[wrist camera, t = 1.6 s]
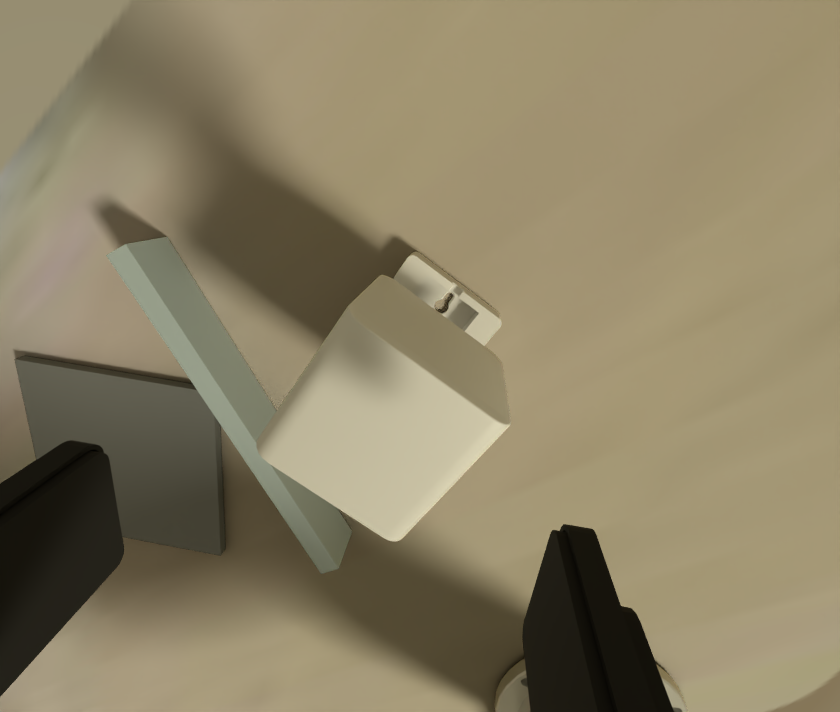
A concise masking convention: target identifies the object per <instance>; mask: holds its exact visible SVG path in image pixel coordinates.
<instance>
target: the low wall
mask: <svg viewBox="0 0 840 712" xmlns="http://www.w3.org/2000/svg"><path fill="white" fill-rule="evenodd" d="M106 256H107V257H108V259H109V260H110V262H111V263H112V265H113V266H114V268H115V269H116V271H117V272H118V274H119V275H120V277H121V278H122V280H123V281H124V283H125V284H126V286H127V287H128V288H129V290H130V291H131V293H132V294H133V296H134V297H135V299H136V300H137V302H138V303H139V305H140V306H141V308H142V309H143V311H144V312H145V314H146V315H147V317H148V318H149V320H150V321H151V323H152V324H153V326H154V327H155V328H156V330H157V331H158V333H159V334H160V336H161V337H162V339H163V340H164V342H165V343H166V345H167V346H168V348H169V349H170V351H171V352H172V354H173V355H174V357H175V358H176V360H177V361H178V363H179V364H180V366H181V367H182V368H183V370H184V371H185V373H186V374H187V376H188V377H189V379H190V380H191V382H192V383H193V385H194V386H195V388H196V389H197V391H198V392H199V394H200V395H201V397H202V398H203V400H204V401H205V403H206V404H207V406H208V407H209V409H210V410H211V411H212V413H213V414H214V416H215V417H216V419H217V420H218V422H219V423H220V425H221V426H222V428H223V429H224V431H225V432H226V434H227V435H228V437H229V438H230V440H231V441H232V443H233V444H234V446H235V447H236V449H237V450H238V451H239V453H240V454H241V456H242V457H243V459H244V460H245V462H246V463H247V465H248V466H249V468H250V469H251V471H252V472H253V474H254V475H255V477H256V478H257V480H258V481H259V483H260V484H261V486H262V487H263V489H264V490H265V492H266V493H267V494H268V496H269V497H270V499H271V500H272V502H273V503H274V505H275V506H276V508H277V509H278V511H279V512H280V514H281V515H282V517H283V518H284V520H285V521H286V523H287V524H288V526H289V527H290V529H291V530H292V532H293V533H294V534H295V536H296V537H297V539H298V540H299V542H300V543H301V545H302V546H303V548H304V549H305V551H306V552H307V554H308V555H309V557H310V558H311V560H312V561H313V563H314V564H315V566H316V567H317V569H318V570H319V572H320V573H321V574H323V573H326V572H330V571H333V570H336V569H339V567H340V564H341V561H342V559H343V556H344V553H345V550H346V547H347V544H348V542H349V539H350V536H351V533H352V530H351V529H350V527H349V526H348V524H347V523H346V521H345V519H344V518H343V516H342V515H341V513H340V511H339V510H338V508H337V507H335V506H333V505H332V504H330V503H329V502H327V501H326V500H324V499H323V498H321V497H320V496H318V495H317V494H315V493H314V492H312V491H310V490H309V489H307V488H306V487H304V486H303V485H301V484H300V483H298V482H297V481H295V480H294V479H292V478H290V477H289V476H287V475H286V474H284V473H283V472H281V471H280V470H278V469H277V468H275V467H274V466H272V465H270V464H269V463H268V462H266V461H265V460H264V459H263V458H262V457H261V456H260V454H259V453H258V450H257V447H256V443H257V440H258V438H259V436H260V435H261V433H262V432H263V430H264V429H265V427H266V426H267V424H268V423H269V421H270V420H271V419H272V417H273V416H274V414H275V413H276V409H275V408H274V406H273V405H272V403H271V401H270V400H269V398H268V397H267V395H266V393H265V392H264V390H263V389H262V387H261V385H260V384H259V382H258V381H257V379H256V377H255V376H254V374H253V373H252V371H251V370H250V368H249V366H248V365H247V363H246V362H245V360H244V358H243V357H242V355H241V354H240V352H239V350H238V349H237V347H236V346H235V344H234V342H233V341H232V339H231V338H230V336H229V334H228V333H227V331H226V330H225V328H224V326H223V325H222V323H221V322H220V320H219V319H218V317H217V315H216V314H215V312H214V311H213V309H212V307H211V306H210V304H209V303H208V301H207V299H206V298H205V296H204V295H203V293H202V291H201V290H200V288H199V287H198V285H197V283H196V282H195V280H194V279H193V277H192V276H191V274H190V272H189V271H188V269H187V268H186V266H185V264H184V263H183V261H182V260H181V258H180V256H179V255H178V253H177V252H176V250H175V248H174V247H173V245H172V244H171V242H170V240H169V239H168V237H163V238H157V239H152V240H146V241H140V242H134V243H128V244H125V245H123V246H121V247H120V248H118V249H116V250H114V251H113V252H111V253H109V254H108V255H106Z"/></svg>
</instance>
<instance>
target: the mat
mask: <svg viewBox="0 0 840 712" xmlns="http://www.w3.org/2000/svg"><path fill="white" fill-rule="evenodd" d="M15 364H16V368H17V373H18V378H19V382H20V387H21V391H22V396H23V400H24V405H25V410H26V414H27V419H28V423H29V428H30V433H31V437H32V442H33V446H34V451H35V456H36V460H37V459H39V458H40V457H42V456H43V455H45V454H46V453H48V452H49V451H51V450H52V449H54V448H55V447H57V446H58V445H60V444H61V443H63V442H65V441H70V440H74V441H79V442H85V443H91V444H96V445H100V446H101V447H102V448H103V451H104V453H105V454H107V455H108V457H109V461H110V467H111V472H112V478H113V484H114V490H115V496H116V502H117V508H118V514H119V520H120V526H121V532H122V537H126V538H131V539H136V540H141V541H146V542H152V543H157V544H162V545H167V546H173V547H178V548H183V549H188V550H194V551H199V552H204V553H209V554H214V555H220V556H221V555H222V553H223V552H224V550H225V526H224V501H223V477H222V453H221V428H220V423H219V422H218V420H217V419H216V417H215V416H214V414H213V413H212V411H211V410H210V409H209V407H208V406H207V404H206V403H205V401H204V400H203V398H202V397H201V395H200V394H199V392H198V391H197V389H196V388H195V386H194V385H193V384H190V383H184V382H178V381H172V380H166V379H160V378H154V377H148V376H142V375H136V374H130V373H124V372H118V371H113V370H107V369H101V368H95V367H89V366H83V365H77V364H71V363H65V362H59V361H53V360H47V359H41V358H35V357H29V356H22V357H19V358H17V359H15Z"/></svg>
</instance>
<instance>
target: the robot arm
mask: <svg viewBox="0 0 840 712" xmlns="http://www.w3.org/2000/svg"><path fill="white" fill-rule="evenodd" d="M123 554H124V544H123V538H122V532H121V526H120V520H119V514H118V508H117V502H116V496H115V490H114V484H113V478H112V472H111V467H110V461H109V457H108V455H107V454H105V453H104V451H103V448H102V447H101V446H100V445H96V444H91V443H85V442H79V441H74V440H70V441H65V442H63V443H61V444H60V445H58V446H57V447H55V448H54V449H52V450H51V451H49V452H48V453H46V454H45V455H43V456H42V457H40V458H39V459H37V460H36V461H34V462H33V463H31V464H30V465H28V466H26V467H25V468H23V469H22V470H20V471H19V472H17V473H16V474H14V475H13V476H11V477H10V478H8V479H7V480H5V481H4V482H2V483H1V484H0V696H1V695H2V694H3V693H4V692H5V691H6V690H7V689H8V688H9V686H10V685H11V684H12V683H13V682H14V681H15V680H16V679H17V678H18V676H19V675H20V674H21V673H22V672H23V671H24V670H25V669H26V668H27V666H28V665H29V664H30V663H31V662H32V661H33V660H34V659H35V658H36V656H37V655H38V654H39V653H40V652H41V651H42V650H43V649H44V648H45V646H46V645H47V644H48V643H49V642H50V641H51V640H52V639H53V638H54V636H55V635H56V634H57V633H58V632H59V631H60V630H61V629H62V628H63V626H64V625H65V624H66V623H67V622H68V621H69V620H70V619H71V618H72V616H73V615H74V614H75V613H76V612H77V611H78V610H79V609H80V608H81V606H82V605H83V604H84V603H85V602H86V601H87V600H88V599H89V598H90V596H91V595H92V594H93V593H94V592H95V591H96V590H97V589H98V588H99V586H100V585H101V584H102V583H103V582H104V581H105V580H106V579H107V578H108V576H109V575H110V574H111V573H112V572H113V571H114V570H115V569H116V567H117V566H118V565H119V563H120V561H121V560H122V557H123ZM523 648H524V657H525V658H524V659H523V660H521V661H520V662H518V663H517V664H516V665H515V666H513V667H512V668H511V669H510V670H509V671H508V672H507V673H506V674H505V676H504V677H503V678H502V679H501V681H500V684H499V686H498V688H497V690H496V697H495V712H688V710H687V706H686V703H685V701H684V699H683V697H682V694H681V692H680V690H679V687H678V686H677V684H676V683H675V682H674V680H673V679H672V678H671V676H670V675H669V674H668V673H666V672H665V671H664V670H663V669H662V668H661V667H659V666H658V665H657V664H656V662H655V660H654V657H653V654H652V652H651V649H650V646H649V644H648V641H647V639H646V636H645V633H644V631H643V628H642V625H641V623H640V620H639V618H638V616H637V614H636V613H635V612H634V611H633V610H632V609H631V608H628V607H623V606H621V605H620V602H619V600H618V597H617V594H616V591H615V588H614V585H613V582H612V579H611V576H610V573H609V570H608V568H607V565H606V562H605V559H604V556H603V553H602V550H601V547H600V544H599V541H598V539H597V536H596V533H595V531H594V530H593V529H590V528H584V527H578V526H572V525H566V524H564V525H563V526H562V527H561V529H560V531H556V530H552V532H551V534H550V537H549V540H548V544H547V547H546V550H545V554H544V557H543V560H542V564H541V567H540V570H539V574H538V577H537V580H536V583H535V587H534V590H533V593H532V597H531V600H530V603H529V607H528V610H527V613H526V617H525V620H524V625H523Z"/></svg>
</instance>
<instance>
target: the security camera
mask: <svg viewBox="0 0 840 712" xmlns="http://www.w3.org/2000/svg"><path fill="white" fill-rule="evenodd" d="M449 292H450V293H452V294H453V298H452V299H451V300H450V301H449V303H448V305H449V308H448V310H447V311H446V312H443V313H440V312H438V311H437V310H436V309H435V306H434V305H435V302H436V301H438V300H442V299H443V298H444V296H445V295H446V294H447V293H449ZM501 324H502V322H501V317H500V313H499V312H498V311H496V310H495V309H494V308H492V307H491V306H490V305H488V304H487V303H486V302H484V301H483V300H482V299H480V298H479V297H478V296H476V295H475V294H474V293H472V292H471V291H470V290H468V289H467V288H466V287H464V286H463V285H462V284H460V283H459V282H458V281H456V280H455V279H454V278H452V277H451V276H450V275H448V274H447V273H446V272H444V271H443V270H442V269H440V268H439V267H438V266H436V265H435V264H434V263H432V262H431V261H430V260H428V259H427V258H426V257H424V256H423V255H422V254H420V253H419V252H413V253H411V255H410V256H409V257H408V258H407V259H406V261H405V262H404V263H403V265H402V266H401V268H400V269H399V271H398V272H397V273H396V275H395V276H394V278H393V279H392V278H390V277H388V276H385V275H380V276H378V277H377V278H376V279H375V280H374V281H373V282H372V283H371V284H370V285H369V286H368V287H367V288H366V289H365V290H364V291H363V292H362V293H361V294H360V295H359V296H358V297H357V298H356V299H354V300H353V301H352V302H351V303H350V304H349V305H348V307H347V308H346V310H345V311H344V313H343V314H342V315H341V317H340V318H339V320H338V321H337V323H336V324H335V326H334V327H333V329H332V330H331V332H330V333H329V335H328V336H327V338H326V339H325V340H324V342H323V343H322V345H321V346H320V348H319V349H318V351H317V352H316V354H315V355H314V357H313V358H312V360H311V361H310V363H309V364H308V366H307V367H306V368H305V370H304V371H303V373H302V374H301V376H300V377H299V379H298V380H297V382H296V383H295V385H294V386H293V388H292V389H291V391H290V392H289V393H288V395H287V396H286V398H285V399H284V401H283V402H282V404H281V405H280V407H279V408H278V410H277V411H276V413H275V414H274V416H273V417H272V419H271V420H270V421H269V423H268V424H267V426H266V427H265V429H264V430H263V432H262V433H261V435H260V436H259V438H258V440H257V443H256V447H257V450H258V453H259V454H260V456H261V457H262V458H263V459H264V460H265V461H266V462H268V463H269V464H270V465H272V466H274V467H275V468H277V469H278V470H280V471H281V472H283V473H284V474H286V475H287V476H289V477H290V478H292V479H294V480H295V481H297V482H298V483H300V484H301V485H303V486H304V487H306V488H307V489H309V490H310V491H312V492H314V493H315V494H317V495H318V496H320V497H321V498H323V499H324V500H326V501H327V502H329V503H330V504H332V505H333V506H335V507H337V508H338V509H340V510H341V511H343V512H344V513H346V514H347V515H349V516H350V517H352V518H353V519H355V520H357V521H358V522H360V523H361V524H363V525H364V526H366V527H367V528H369V529H370V530H372V531H373V532H375V533H377V534H378V535H380V536H381V537H383V538H385V539H387V540H389V541H399V540H401V539H402V538H403V537H404V536H405V535H406V534H407V533H408V532H409V531H410V530H411V529H412V528H413V527H414V526H415V525H416V524H417V523H418V522H419V520H420V519H421V518H422V517H423V516H424V515H425V514H426V513H427V512H428V511H429V510H430V509H431V508H432V507H433V506H434V505H435V504H436V503H437V502H438V501H439V499H440V498H441V497H442V496H443V495H444V494H445V493H446V492H447V491H448V490H449V489H450V488H451V487H452V486H453V485H454V484H455V483H456V482H457V481H458V480H459V478H460V477H461V476H462V475H463V474H464V473H465V472H466V471H467V470H468V469H469V468H470V467H471V466H472V465H473V464H474V463H475V462H476V461H477V460H478V459H479V458H480V456H481V455H482V454H483V453H484V452H485V451H486V450H487V449H488V448H489V447H490V446H491V445H492V444H493V443H494V442H495V441H496V440H497V439H498V438H499V437H500V435H501V434H502V433H503V432H504V431H505V430H506V429H507V428H508V427H509V426H510V425H511V416H510V410H509V403H508V396H507V390H506V383H505V376H504V369H503V365H502V362H501V361H500V359H499V358H498V357H497V356H496V355H495V354H494V353H493V352H492V351H490V350H489V349H488V348H486V347H485V345H486V343H487V342H488V341H489V340H490V339H491V337H492V336H493V335H494V334H495V333H496V332H497V330H498V329H499V328H500V327H501Z"/></svg>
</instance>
